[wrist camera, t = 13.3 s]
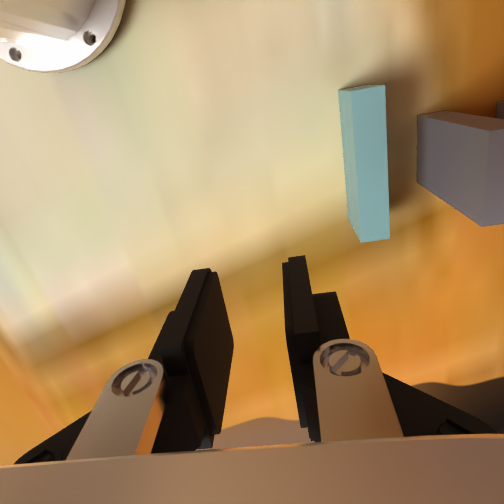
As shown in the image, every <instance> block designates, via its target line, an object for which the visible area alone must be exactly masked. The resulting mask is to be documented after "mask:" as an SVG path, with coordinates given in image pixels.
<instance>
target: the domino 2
mask: <svg viewBox="0 0 504 504" xmlns="http://www.w3.org/2000/svg"><path fill="white" fill-rule="evenodd" d="M417 183H419V184H420V185H422V186H423V187H425V188H426V189H427V190H429V191H430V192H432V193H433V194H435V195H436V196H438V197H439V198H441V199H442V200H443V201H445V202H446V203H448V204H449V205H451V206H452V207H454V208H455V209H456V210H458V211H459V212H461V213H462V214H464V215H465V216H467V217H468V218H470V219H471V220H472V221H474V222H475V223H477V224H478V225H480V226H481V227H484V226H491V225H499V224H504V119H498V118H492V117H485V116H479V115H472V114H466V113H459V112H453V111H446V110H445V111H440V112H434V113H428V114H422V115H417Z"/></svg>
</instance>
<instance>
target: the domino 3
mask: <svg viewBox="0 0 504 504" xmlns="http://www.w3.org/2000/svg"><path fill="white" fill-rule="evenodd" d="M496 118H498V119H504V101H498V102H497V108H496Z"/></svg>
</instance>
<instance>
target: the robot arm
mask: <svg viewBox="0 0 504 504" xmlns="http://www.w3.org/2000/svg"><path fill="white" fill-rule="evenodd" d="M125 1H126V0H0V59H1V60H3V61H5V62H7V63H8V64H10V65H13V66H16V67H19V68H22V69H25V70H28V71H36V72H43V73H60V72H65V71H70V70H75V69H77V68H79V67H81V66H83V65H85V64H88V63H89V62H91V61H92V60H93V59H94V58H96V57H97V56H98V55H99V54H100V53H102V51H103V50H104V49H105V48H106V46H107V45H108V44H109V42H110V41H111V40H112V38H113V36H114V34H115V32H116V30H117V28H118V26H119V24H120V21H121V18H122V14H123V10H124V7H125ZM94 35H95V36H96V42H95V43H94V42H93V40H92V38H93V36H94ZM21 55H22V57H21ZM288 261H289V262H285V263H282V270H283V292H284V314H285V332H286V341H287V348H288V354H289V360H290V366H291V372H292V378H293V384H294V390H295V396H296V402H297V408H298V414H299V420H300V426H301V428H306V427H308V432H309V438H310V439H311V441H315V442H314V443H299V444H285V445H269V446H255V447H240V448H226V449H212V450H198V451H195V450H196V449H206V448H212V446H213V440H214V435H215V434H220V432H221V427H222V421H223V414H224V408H225V401H226V395H227V388H228V382H229V375H230V369H231V362H232V356H233V349H234V343H233V336H232V332H231V328H230V324H229V320H228V315H227V311H226V307H225V303H224V299H223V294H222V290H221V286H220V282H219V278H218V274H217V272H212V271H211V269H210V268H206V269H199V270H193V271H192V272H191V275H190V277H189V279H188V282H187V284H186V286H185V288H184V291H183V293H182V295H181V297H180V300H179V302H178V304H177V307H176V309H175V311H171V312H170V313H169V314H168V316H167V318H166V321H165V323H164V325H163V327H162V329H161V332H160V334H159V336H158V338H157V340H156V342H155V345H154V347H153V349H152V351H151V353H150V355H149V358H148V359H143V360H138V361H134V362H132V363H129V364H127V365H125V366H124V367H122V368H120V369H119V370H118V371H116V372H115V373H114V374H113V375H112V376H111V377H110V379H109V380H108V382H107V383H106V385H105V387H104V389H103V391H102V393H101V395H100V396H99V398H98V400H97V402H96V404H95V406H94V408H93V410H92V411H90V412H89V413H87V414H86V415H84V416H83V417H81V418H80V419H78V420H76V421H75V422H73V423H72V424H70V425H69V426H67V427H66V428H64V429H62V430H61V431H59V432H58V433H56V434H55V435H53V436H52V437H50V438H48V439H47V440H45V441H44V442H42V443H41V444H39V445H38V446H36V447H34V448H33V449H31V450H30V451H28V452H27V453H26V454H24V455H23V456H22V457H20V458H19V459H18V460H17V461H16V462H15V463H14V464H13V465H2V466H0V504H504V434H498V433H497V432H495V431H494V430H493V429H492V428H491V427H490V426H489V425H488V424H486V423H484V422H483V421H481V420H480V419H478V418H476V417H474V416H472V415H470V414H468V413H466V412H464V411H462V410H460V409H458V408H456V407H454V406H451V405H449V404H447V403H445V402H443V401H441V400H439V399H437V398H435V397H432V396H430V395H428V394H426V393H424V392H422V391H420V390H418V389H416V388H414V387H412V386H410V385H407V384H405V383H403V382H401V381H399V380H397V379H395V378H393V377H391V376H389V375H387V374H384V373H382V371H381V368H380V365H379V362H378V359H377V356H376V354H375V353H374V351H373V349H371V348H370V347H369V346H368V345H367V344H364V343H362V342H360V341H357V340H352V339H350V338H349V334H348V331H347V328H346V324H345V321H344V318H343V314H342V311H341V307H340V304H339V301H338V297H337V294H336V292H327V293H319V294H312V291H311V286H310V280H309V275H308V269H307V264H306V258H305V255H304V256H297V257H289V258H288Z"/></svg>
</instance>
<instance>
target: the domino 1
mask: <svg viewBox="0 0 504 504" xmlns="http://www.w3.org/2000/svg"><path fill="white" fill-rule="evenodd" d="M338 94H339V107H340V119H341V132H342V145H343V157H344V170H345V182H346V195H347V207H348V220H349V222H350V223H351V225H352V227H353V229H354V231H355V232H356V234H357V236H358V238H359V240H360V242H369V241H376V240H383V239H390V222H389V191H388V160H387V128H386V97H385V85H363V86H357V87H352V88H347V89H342V90H338Z"/></svg>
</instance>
